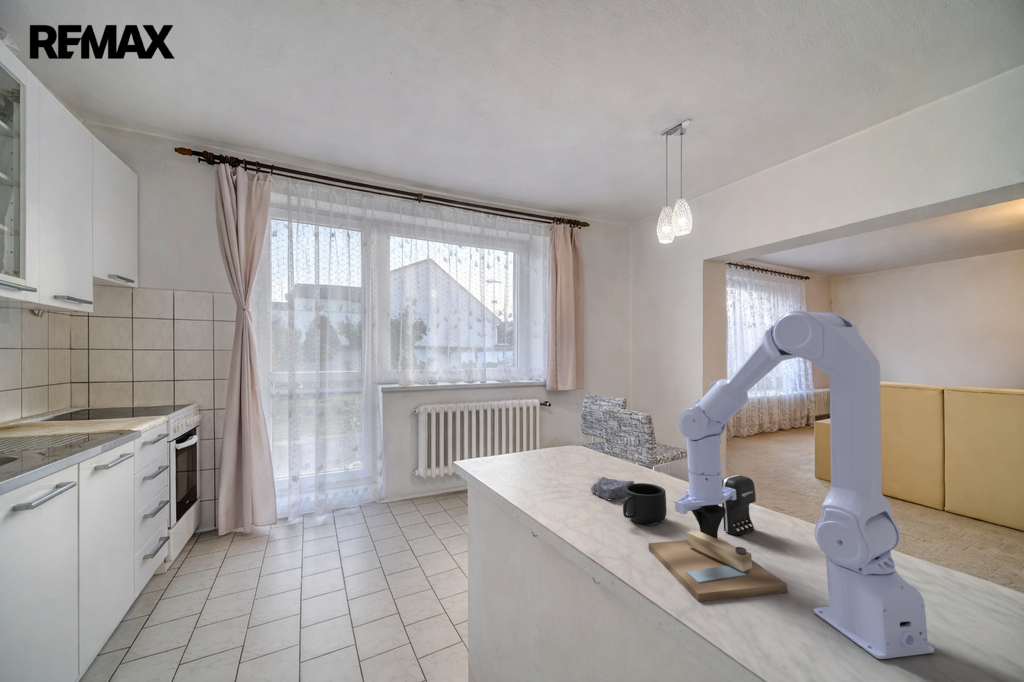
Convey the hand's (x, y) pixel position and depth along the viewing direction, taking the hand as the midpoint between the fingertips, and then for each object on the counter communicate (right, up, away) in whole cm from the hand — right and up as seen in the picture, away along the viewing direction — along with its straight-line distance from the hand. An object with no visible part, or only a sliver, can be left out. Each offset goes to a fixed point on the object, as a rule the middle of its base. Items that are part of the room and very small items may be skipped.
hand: (709, 544), depth 75 cm
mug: (-7, -4, +17) cm, 18 cm away
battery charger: (+12, -2, +10) cm, 15 cm away
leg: (0, 0, -3) cm, 3 cm away
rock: (-10, -5, +35) cm, 37 cm away
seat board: (-2, -2, -4) cm, 5 cm away
